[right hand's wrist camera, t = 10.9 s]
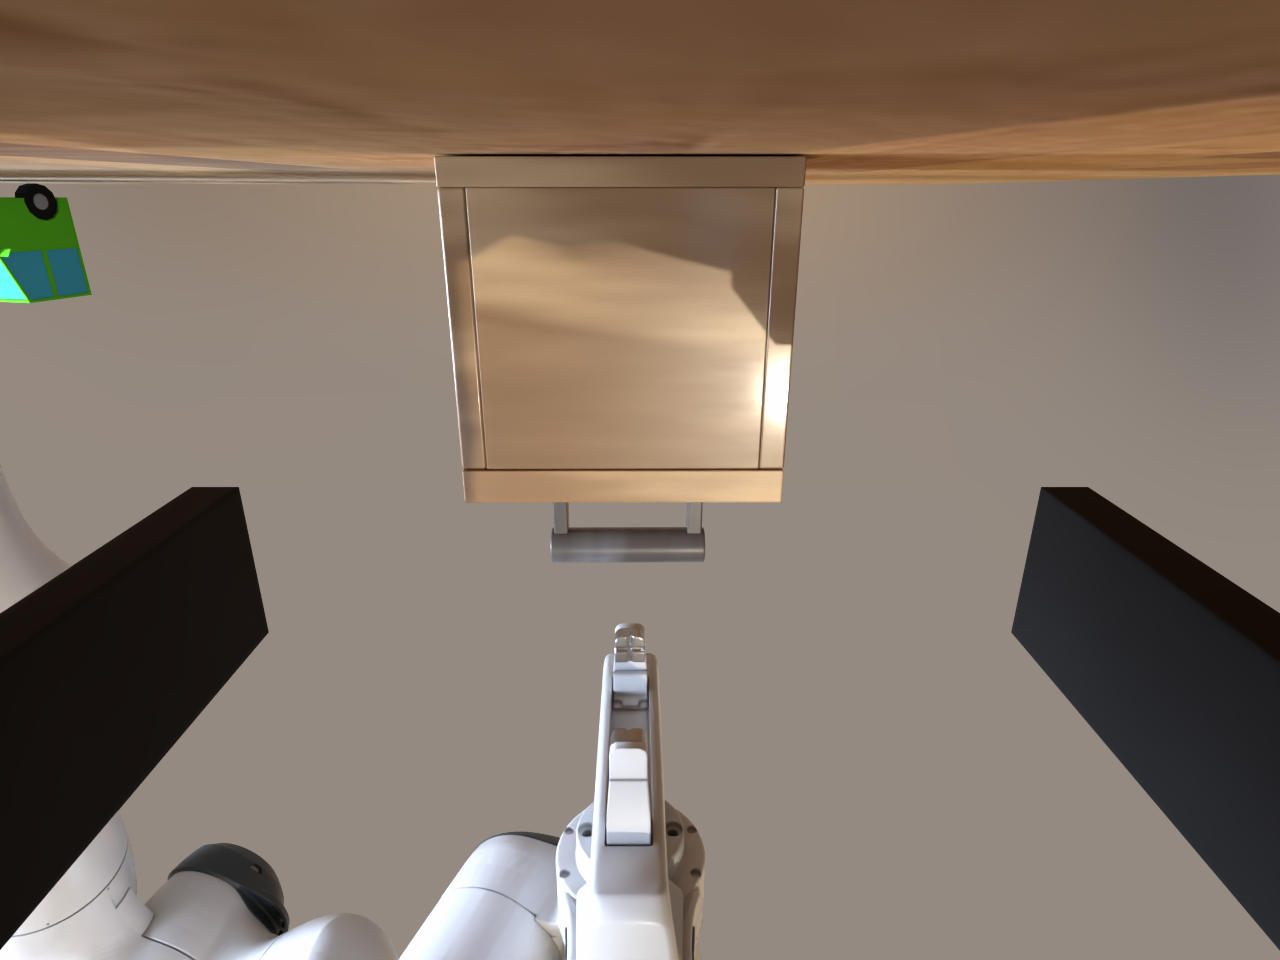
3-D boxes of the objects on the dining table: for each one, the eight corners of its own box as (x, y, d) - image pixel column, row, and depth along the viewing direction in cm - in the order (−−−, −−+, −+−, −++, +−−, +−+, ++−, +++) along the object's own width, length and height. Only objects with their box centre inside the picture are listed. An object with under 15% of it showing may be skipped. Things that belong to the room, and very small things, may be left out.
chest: (742, 169, 33) (733, 374, 36) (509, 169, 33) (521, 374, 36) (807, 156, 20) (784, 469, 24) (433, 155, 20) (461, 469, 24)
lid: (731, 370, 37) (723, 536, 40) (524, 371, 37) (533, 536, 40) (783, 470, 24) (766, 704, 27) (461, 471, 24) (483, 705, 27)
